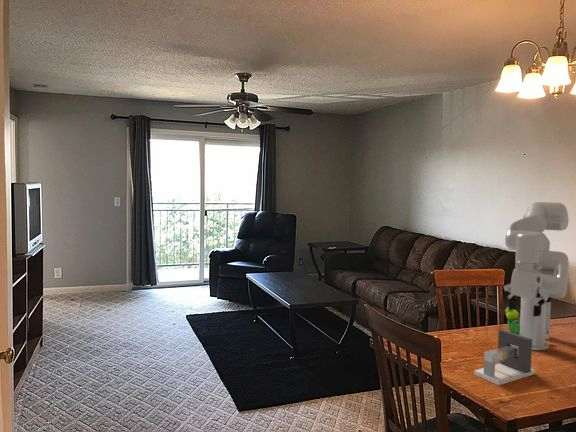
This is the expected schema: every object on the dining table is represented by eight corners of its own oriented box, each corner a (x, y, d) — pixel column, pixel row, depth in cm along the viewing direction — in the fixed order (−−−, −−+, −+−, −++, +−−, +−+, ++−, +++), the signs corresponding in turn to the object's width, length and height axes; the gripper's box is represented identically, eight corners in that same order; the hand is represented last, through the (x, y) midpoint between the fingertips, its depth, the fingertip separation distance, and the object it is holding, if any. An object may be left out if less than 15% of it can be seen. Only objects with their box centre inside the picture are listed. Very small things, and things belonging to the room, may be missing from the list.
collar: (500, 360, 173) (502, 329, 173) (530, 371, 163) (532, 339, 162) (497, 361, 173) (498, 330, 172) (527, 372, 162) (528, 339, 161)
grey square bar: (517, 351, 171) (518, 342, 171) (526, 354, 168) (526, 345, 168) (483, 360, 162) (483, 351, 162) (491, 363, 159) (492, 354, 159)
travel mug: (552, 339, 203) (554, 295, 202) (536, 338, 205) (538, 294, 203) (547, 334, 209) (549, 292, 208) (531, 333, 211) (533, 291, 209)
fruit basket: (525, 335, 208) (526, 311, 207) (504, 332, 212) (505, 308, 212) (526, 329, 218) (527, 305, 217) (505, 326, 222) (506, 303, 221)
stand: (509, 364, 175) (510, 347, 174) (534, 374, 166) (535, 356, 165) (474, 374, 165) (474, 357, 165) (498, 385, 156) (499, 366, 156)
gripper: (555, 270, 162) (553, 317, 163) (511, 262, 177) (509, 306, 178) (543, 271, 158) (540, 320, 159) (499, 263, 173) (497, 308, 174)
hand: (524, 312), depth 169 cm, fingers open, 9 cm apart
